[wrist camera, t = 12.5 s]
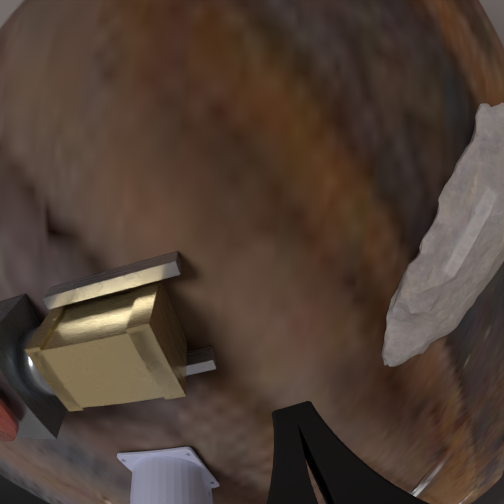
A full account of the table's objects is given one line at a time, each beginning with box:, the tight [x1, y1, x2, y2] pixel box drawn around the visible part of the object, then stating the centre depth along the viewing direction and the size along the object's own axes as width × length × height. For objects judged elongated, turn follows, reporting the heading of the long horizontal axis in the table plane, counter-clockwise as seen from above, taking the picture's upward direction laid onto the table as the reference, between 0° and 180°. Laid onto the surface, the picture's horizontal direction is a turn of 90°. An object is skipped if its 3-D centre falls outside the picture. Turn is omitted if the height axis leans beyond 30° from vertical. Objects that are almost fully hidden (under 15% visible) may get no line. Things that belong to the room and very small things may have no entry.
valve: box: [0, 251, 216, 442], centre depth 15 cm, size 8×22×7 cm, turn 103°
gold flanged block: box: [25, 280, 187, 411], centre depth 16 cm, size 5×8×5 cm, turn 103°
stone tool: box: [381, 103, 504, 367], centre depth 18 cm, size 12×5×25 cm
